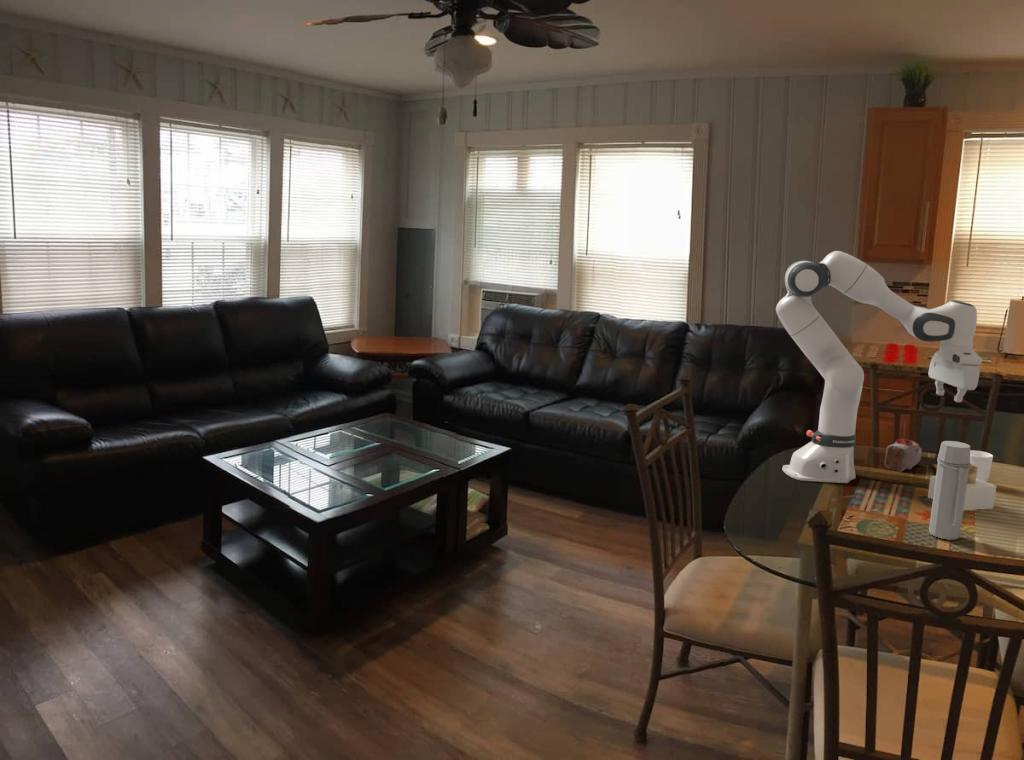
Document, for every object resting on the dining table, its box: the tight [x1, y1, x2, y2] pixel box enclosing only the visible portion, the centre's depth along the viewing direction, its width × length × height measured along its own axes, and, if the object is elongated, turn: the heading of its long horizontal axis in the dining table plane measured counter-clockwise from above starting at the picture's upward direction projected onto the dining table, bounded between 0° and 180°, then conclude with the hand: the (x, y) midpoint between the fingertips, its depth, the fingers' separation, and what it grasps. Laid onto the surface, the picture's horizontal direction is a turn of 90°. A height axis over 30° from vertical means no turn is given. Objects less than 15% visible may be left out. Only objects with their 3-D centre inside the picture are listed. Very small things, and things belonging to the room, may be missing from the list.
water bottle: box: [928, 440, 972, 541], centre depth 204 cm, size 9×8×25 cm
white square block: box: [927, 475, 997, 511], centre depth 233 cm, size 12×12×7 cm
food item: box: [883, 438, 923, 473], centre depth 267 cm, size 14×8×10 cm, turn 133°
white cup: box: [970, 449, 994, 483], centre depth 250 cm, size 8×8×10 cm
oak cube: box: [967, 464, 978, 483], centre depth 232 cm, size 5×5×5 cm
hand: (948, 398), depth 245 cm, fingers open, 8 cm apart
